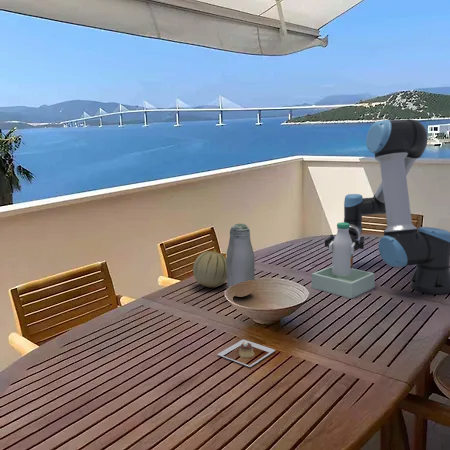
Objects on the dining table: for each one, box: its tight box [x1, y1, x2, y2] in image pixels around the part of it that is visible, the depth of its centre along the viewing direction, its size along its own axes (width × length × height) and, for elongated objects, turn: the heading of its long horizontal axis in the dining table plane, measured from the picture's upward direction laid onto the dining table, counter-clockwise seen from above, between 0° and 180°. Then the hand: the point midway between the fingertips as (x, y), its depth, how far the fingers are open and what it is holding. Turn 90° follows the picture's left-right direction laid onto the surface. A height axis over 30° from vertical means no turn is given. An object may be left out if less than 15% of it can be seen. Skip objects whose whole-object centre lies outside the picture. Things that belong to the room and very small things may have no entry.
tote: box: [311, 265, 376, 299], centre depth 185 cm, size 18×16×6 cm
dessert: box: [216, 338, 276, 368], centre depth 134 cm, size 12×12×5 cm
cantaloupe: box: [192, 248, 227, 288], centre depth 191 cm, size 15×15×15 cm
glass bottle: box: [225, 223, 255, 288], centre depth 178 cm, size 10×10×28 cm
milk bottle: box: [331, 221, 354, 276], centre depth 183 cm, size 8×8×20 cm
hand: (340, 249), depth 178 cm, fingers closed on milk bottle, 7 cm apart
